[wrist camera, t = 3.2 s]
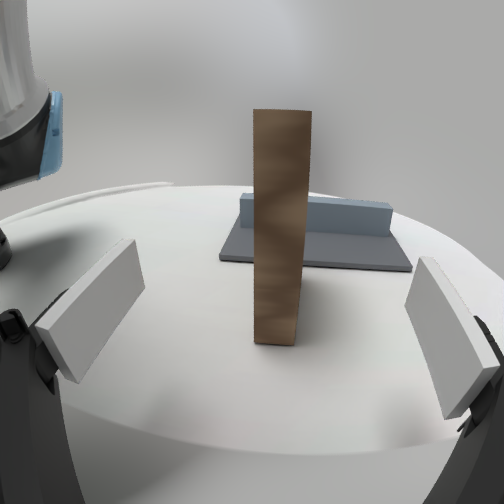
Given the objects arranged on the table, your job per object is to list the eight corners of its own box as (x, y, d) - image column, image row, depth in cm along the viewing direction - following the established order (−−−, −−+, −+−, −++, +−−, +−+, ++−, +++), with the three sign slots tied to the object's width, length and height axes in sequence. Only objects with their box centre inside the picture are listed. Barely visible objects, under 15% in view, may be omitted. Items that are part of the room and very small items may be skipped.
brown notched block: (253, 342, 21) (253, 109, 14) (267, 272, 30) (269, 109, 23) (293, 345, 21) (311, 111, 13) (296, 274, 30) (305, 110, 22)
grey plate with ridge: (219, 259, 33) (216, 220, 30) (245, 206, 48) (245, 179, 46) (411, 271, 30) (421, 234, 28) (376, 214, 45) (380, 188, 43)
